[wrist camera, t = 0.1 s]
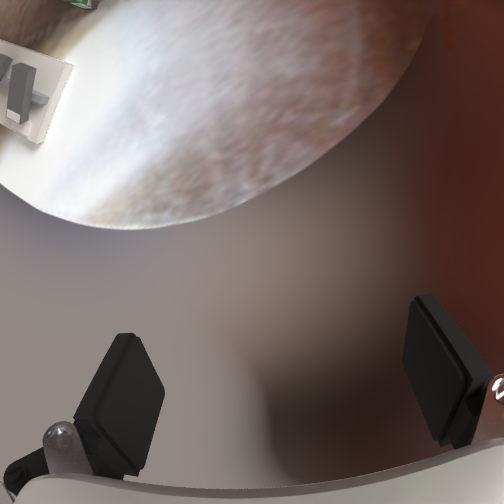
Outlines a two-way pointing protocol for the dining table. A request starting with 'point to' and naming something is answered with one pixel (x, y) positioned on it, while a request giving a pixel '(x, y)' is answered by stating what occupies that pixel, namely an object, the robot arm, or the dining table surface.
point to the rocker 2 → (20, 92)
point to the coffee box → (84, 3)
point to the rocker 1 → (4, 64)
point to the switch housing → (34, 90)
